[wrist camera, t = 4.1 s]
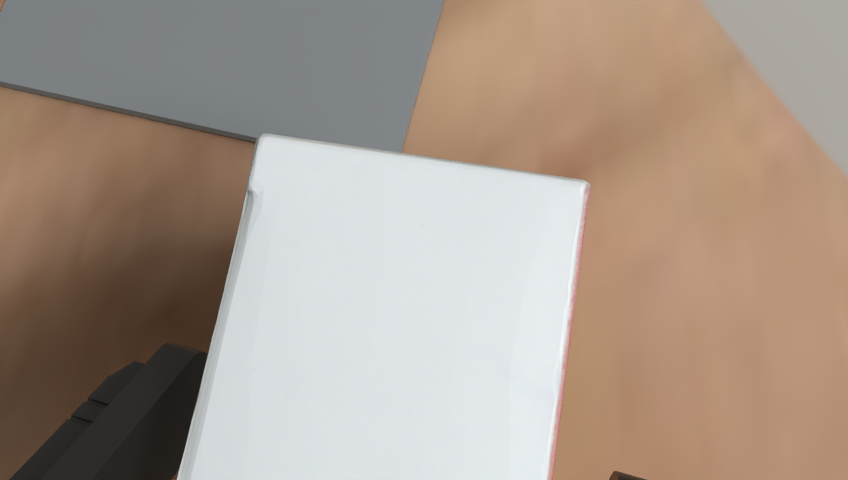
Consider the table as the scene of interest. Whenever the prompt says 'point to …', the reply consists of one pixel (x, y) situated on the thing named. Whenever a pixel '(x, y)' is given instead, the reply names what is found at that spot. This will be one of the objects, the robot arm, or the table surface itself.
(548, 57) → the table surface
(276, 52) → the mat
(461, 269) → the small box
